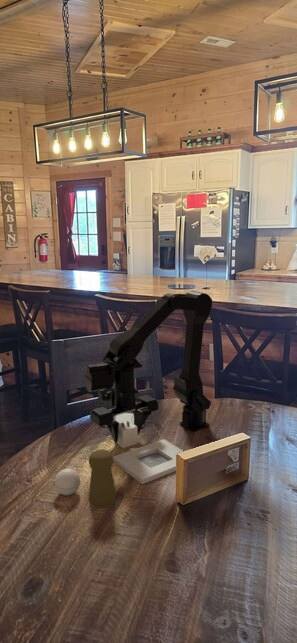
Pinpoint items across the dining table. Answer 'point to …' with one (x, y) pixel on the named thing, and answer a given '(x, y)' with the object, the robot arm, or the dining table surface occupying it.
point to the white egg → (67, 481)
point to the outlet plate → (149, 461)
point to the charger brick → (127, 434)
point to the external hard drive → (125, 418)
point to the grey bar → (126, 451)
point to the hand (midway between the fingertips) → (126, 438)
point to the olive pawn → (101, 479)
